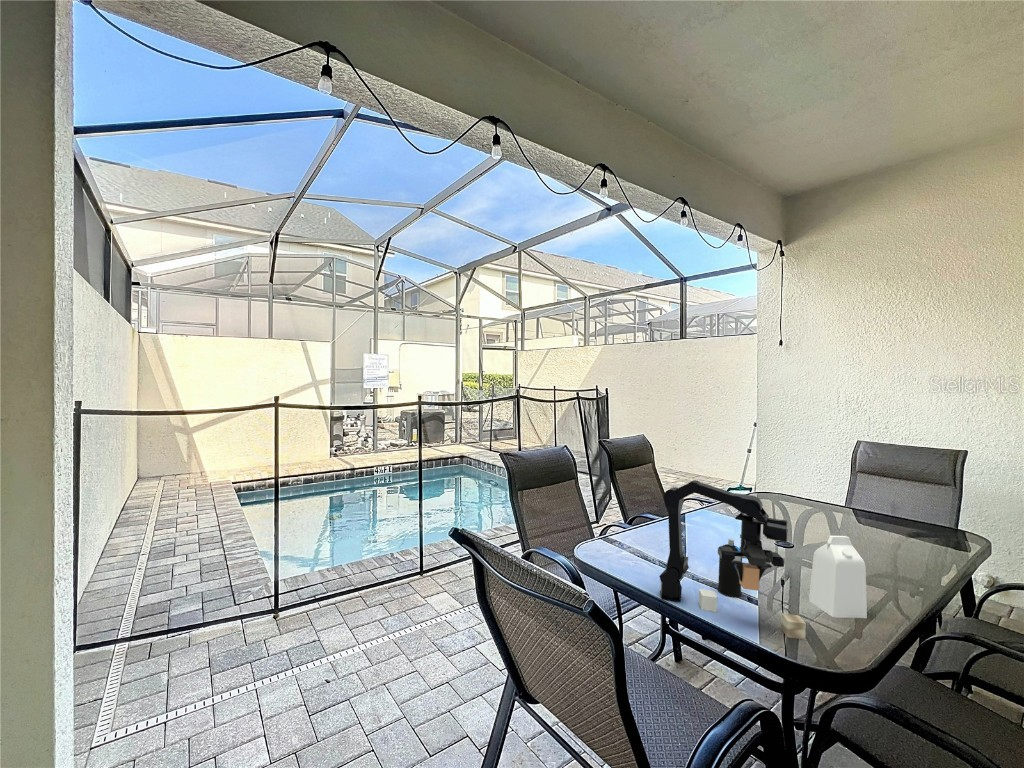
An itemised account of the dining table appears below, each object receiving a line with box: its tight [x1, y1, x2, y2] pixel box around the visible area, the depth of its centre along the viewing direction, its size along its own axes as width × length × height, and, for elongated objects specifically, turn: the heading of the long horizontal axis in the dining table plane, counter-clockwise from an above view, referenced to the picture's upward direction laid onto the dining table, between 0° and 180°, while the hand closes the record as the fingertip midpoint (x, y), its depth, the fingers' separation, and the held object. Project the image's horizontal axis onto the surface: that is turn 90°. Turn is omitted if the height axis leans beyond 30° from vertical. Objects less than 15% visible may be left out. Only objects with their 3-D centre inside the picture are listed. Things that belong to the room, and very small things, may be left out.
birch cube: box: [780, 612, 807, 641], centre depth 135 cm, size 5×5×5 cm
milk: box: [808, 535, 868, 619], centre depth 153 cm, size 12×12×26 cm
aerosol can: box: [717, 538, 743, 598], centre depth 162 cm, size 8×8×20 cm
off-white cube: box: [698, 588, 718, 613], centre depth 150 cm, size 5×5×5 cm
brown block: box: [739, 561, 760, 592], centre depth 142 cm, size 4×4×7 cm
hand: (748, 581), depth 142 cm, fingers closed on brown block, 4 cm apart
